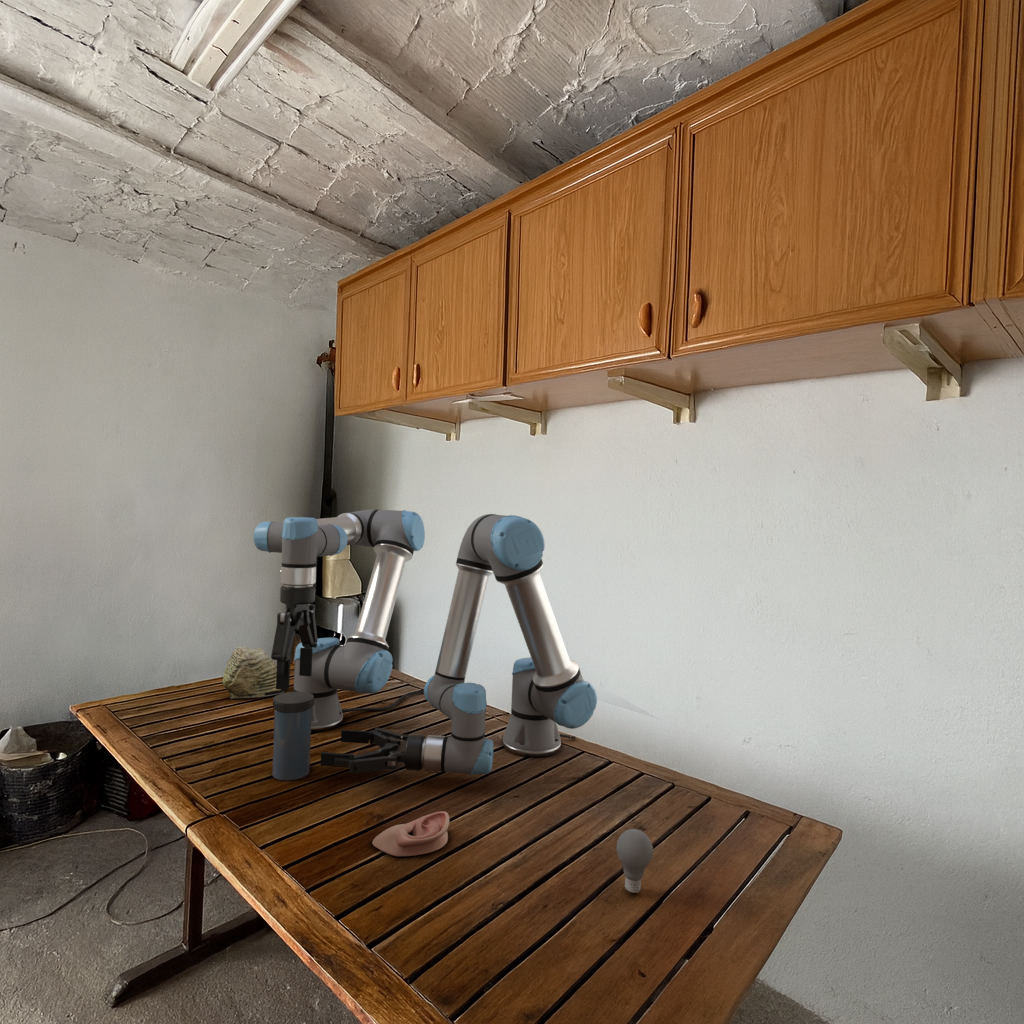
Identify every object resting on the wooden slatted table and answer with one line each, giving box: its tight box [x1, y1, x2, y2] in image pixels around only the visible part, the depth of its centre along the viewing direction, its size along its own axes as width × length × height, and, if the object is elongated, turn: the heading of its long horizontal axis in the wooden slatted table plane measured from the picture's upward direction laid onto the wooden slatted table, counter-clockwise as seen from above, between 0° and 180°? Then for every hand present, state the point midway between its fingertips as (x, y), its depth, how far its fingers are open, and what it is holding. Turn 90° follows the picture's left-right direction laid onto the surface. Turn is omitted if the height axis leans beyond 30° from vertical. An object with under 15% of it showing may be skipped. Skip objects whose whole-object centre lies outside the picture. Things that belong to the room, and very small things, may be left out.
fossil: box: [222, 646, 286, 699], centre depth 198 cm, size 9×18×15 cm, turn 132°
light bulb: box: [615, 828, 654, 894], centre depth 106 cm, size 6×6×10 cm
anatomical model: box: [372, 810, 450, 857], centre depth 118 cm, size 13×4×12 cm
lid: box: [272, 691, 314, 712], centre depth 144 cm, size 9×9×2 cm
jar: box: [271, 708, 312, 781], centre depth 144 cm, size 8×8×17 cm
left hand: (294, 682), depth 144 cm, fingers open, 10 cm apart
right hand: (331, 746), depth 144 cm, fingers open, 13 cm apart
